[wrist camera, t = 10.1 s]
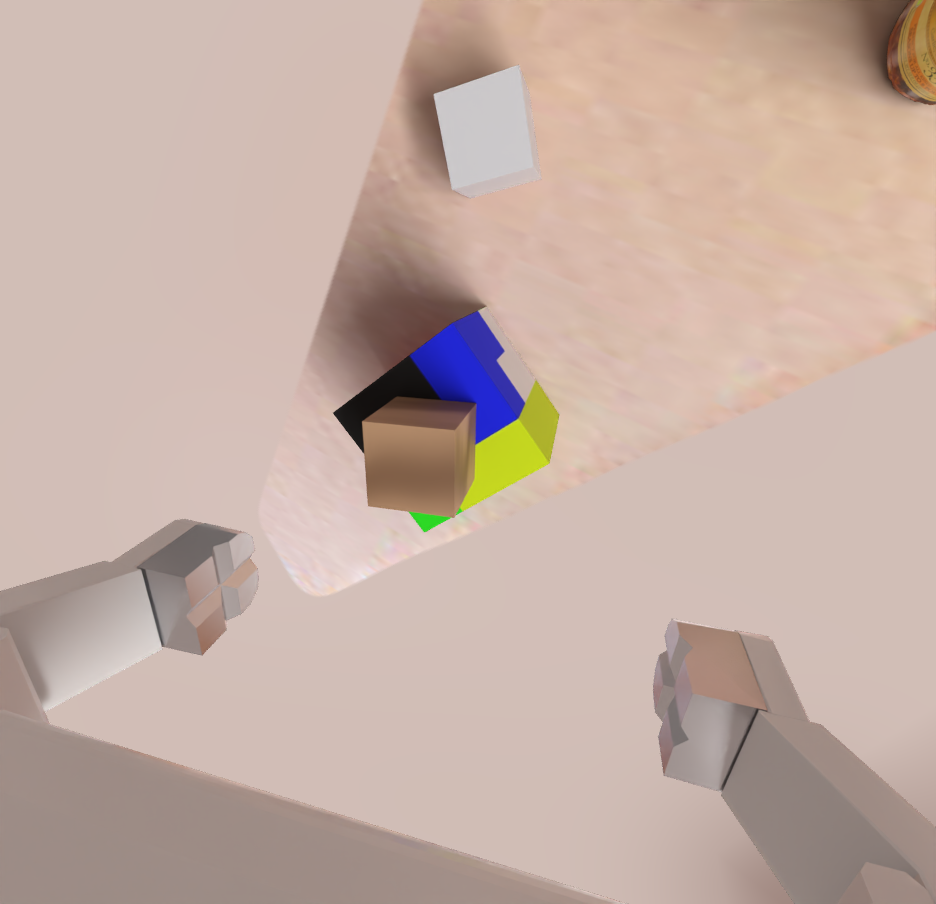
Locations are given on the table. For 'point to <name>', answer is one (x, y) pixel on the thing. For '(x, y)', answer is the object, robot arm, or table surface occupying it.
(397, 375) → the puzzle toy
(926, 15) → the sauce bottle
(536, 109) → the table surface
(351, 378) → the table surface
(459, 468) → the walnut block
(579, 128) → the table surface
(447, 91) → the grey block
